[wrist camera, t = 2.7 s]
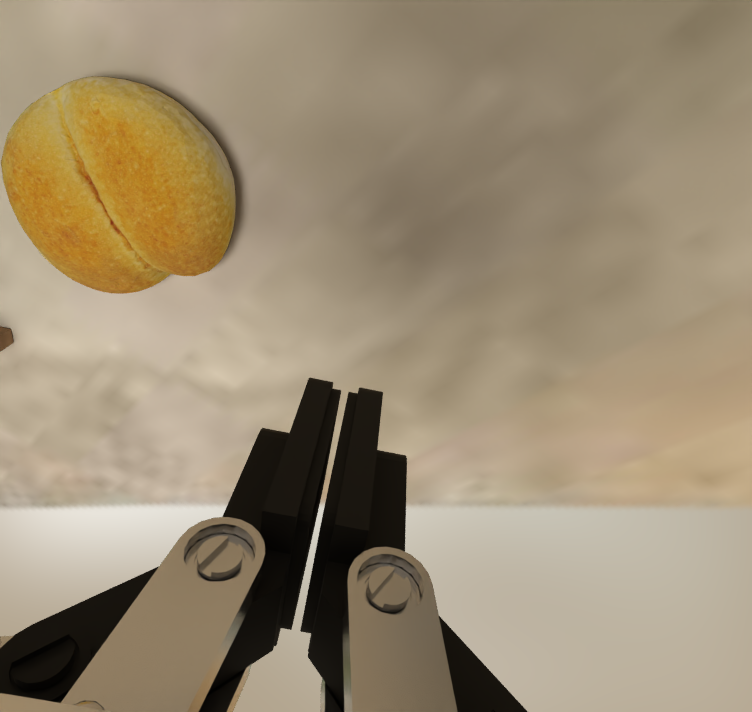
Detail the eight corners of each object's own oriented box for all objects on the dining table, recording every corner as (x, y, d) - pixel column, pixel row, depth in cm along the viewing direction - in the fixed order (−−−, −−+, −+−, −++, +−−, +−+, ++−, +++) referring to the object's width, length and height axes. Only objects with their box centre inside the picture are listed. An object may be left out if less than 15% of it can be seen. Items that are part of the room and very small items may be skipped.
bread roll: (270, 247, 23) (243, 280, 20) (103, 292, 25) (51, 330, 22) (188, 42, 19) (137, 38, 16) (-2, 113, 21) (-84, 124, 18)
